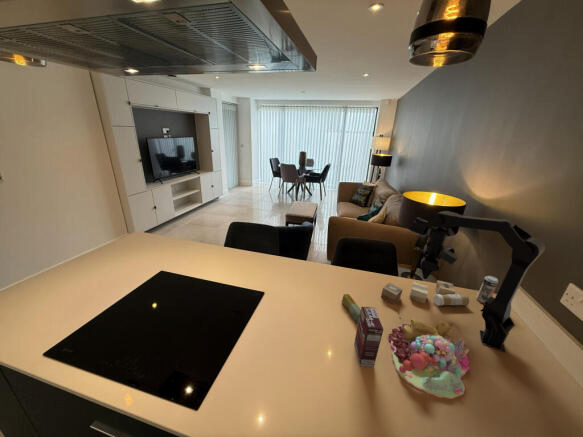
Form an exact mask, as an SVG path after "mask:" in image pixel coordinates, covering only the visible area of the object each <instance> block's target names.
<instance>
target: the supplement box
mask: <svg viewBox="0 0 583 437" xmlns="http://www.w3.org/2000/svg"><path fill="white" fill-rule="evenodd" d="M360 309H361V311H360V316H359V322H358V323H357V327H356V333H355V337H354V343H353V344H354V347H355V351H356V355H357V361H358V365H359V366H362V367H375V365H376V361H377V360H376V359H377V356H378V352H379V347H380V345H381V341H382V337H383V332H384V328H383V325H382V322H381V320H380V318H379V315H378V312H377V311H378V310H377V309H376V307H371V306H361V307H360Z"/></svg>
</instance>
